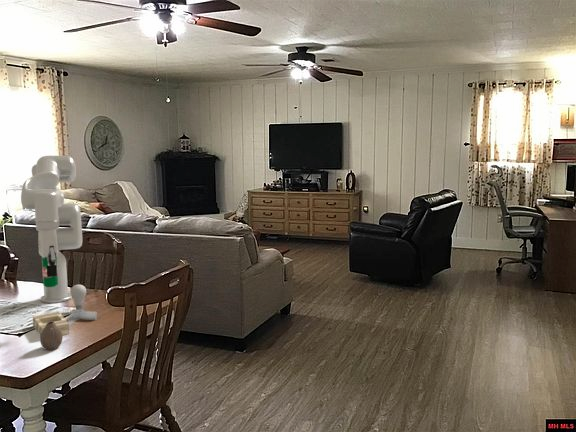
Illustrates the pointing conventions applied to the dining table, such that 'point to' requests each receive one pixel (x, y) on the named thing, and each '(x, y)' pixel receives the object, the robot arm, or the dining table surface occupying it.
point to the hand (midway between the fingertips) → (50, 273)
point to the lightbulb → (78, 295)
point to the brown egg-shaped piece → (51, 336)
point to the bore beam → (55, 317)
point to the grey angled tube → (81, 315)
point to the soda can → (47, 280)
